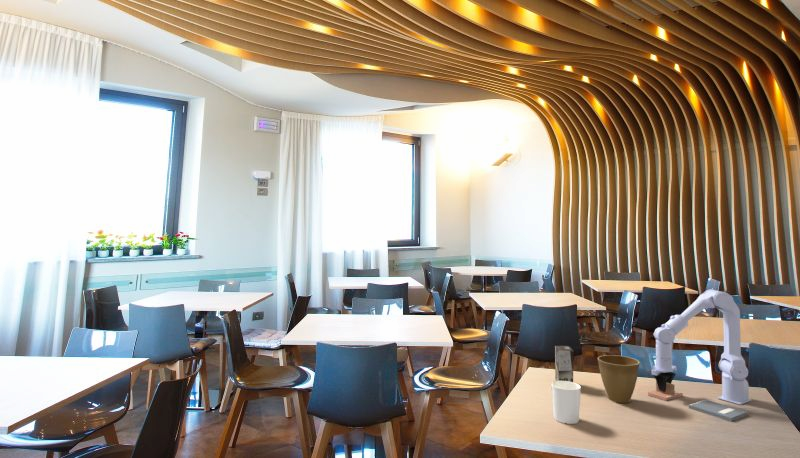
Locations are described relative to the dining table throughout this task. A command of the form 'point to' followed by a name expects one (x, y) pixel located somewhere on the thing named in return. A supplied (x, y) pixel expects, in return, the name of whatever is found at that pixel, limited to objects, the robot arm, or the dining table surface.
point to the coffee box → (563, 363)
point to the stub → (667, 394)
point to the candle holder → (566, 401)
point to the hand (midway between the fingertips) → (664, 390)
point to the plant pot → (618, 376)
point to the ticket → (718, 410)
